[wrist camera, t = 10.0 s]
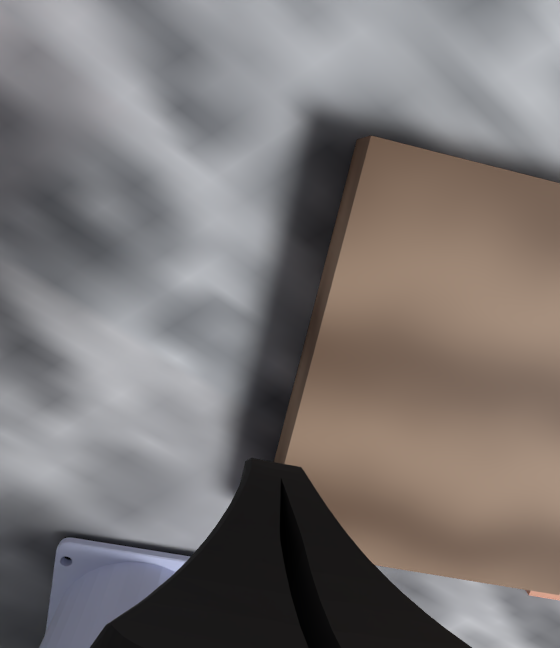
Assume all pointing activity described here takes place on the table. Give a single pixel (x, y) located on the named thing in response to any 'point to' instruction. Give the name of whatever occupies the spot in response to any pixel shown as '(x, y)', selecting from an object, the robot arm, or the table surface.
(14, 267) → the table surface
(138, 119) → the table surface
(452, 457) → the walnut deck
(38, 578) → the table surface
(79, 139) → the table surface
